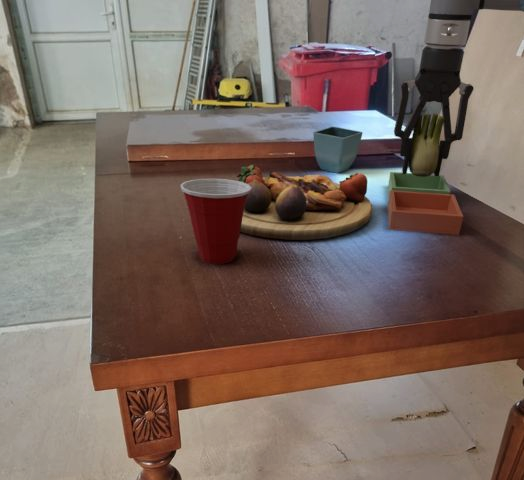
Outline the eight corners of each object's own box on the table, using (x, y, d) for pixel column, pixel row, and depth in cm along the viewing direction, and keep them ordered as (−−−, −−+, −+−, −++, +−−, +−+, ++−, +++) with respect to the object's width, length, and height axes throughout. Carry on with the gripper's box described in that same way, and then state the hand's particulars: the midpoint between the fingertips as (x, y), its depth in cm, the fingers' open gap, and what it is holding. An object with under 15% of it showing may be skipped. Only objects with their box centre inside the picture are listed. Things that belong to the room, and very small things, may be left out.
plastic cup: (260, 249, 89) (261, 177, 82) (236, 275, 81) (236, 198, 74) (201, 240, 92) (198, 170, 85) (173, 264, 83) (167, 189, 77)
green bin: (440, 191, 117) (443, 175, 115) (446, 208, 108) (450, 191, 106) (387, 187, 119) (390, 171, 117) (389, 204, 109) (392, 187, 107)
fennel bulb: (402, 172, 112) (412, 111, 105) (420, 170, 113) (431, 110, 107) (420, 180, 107) (432, 117, 101) (438, 177, 109) (452, 115, 102)
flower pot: (340, 177, 125) (344, 137, 120) (309, 170, 129) (312, 131, 124) (358, 169, 130) (363, 131, 125) (329, 163, 135) (332, 126, 130)
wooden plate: (370, 192, 116) (375, 153, 111) (373, 249, 90) (380, 202, 85) (228, 182, 119) (227, 144, 115) (191, 235, 93) (189, 189, 89)
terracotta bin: (450, 212, 106) (454, 194, 104) (458, 235, 96) (463, 216, 94) (387, 207, 108) (389, 190, 106) (388, 229, 97) (392, 211, 95)
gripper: (393, 46, 95) (374, 175, 108) (501, 50, 93) (469, 181, 106) (391, 43, 101) (374, 165, 114) (493, 47, 99) (463, 171, 112)
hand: (420, 173), depth 110 cm, fingers closed on fennel bulb, 6 cm apart
